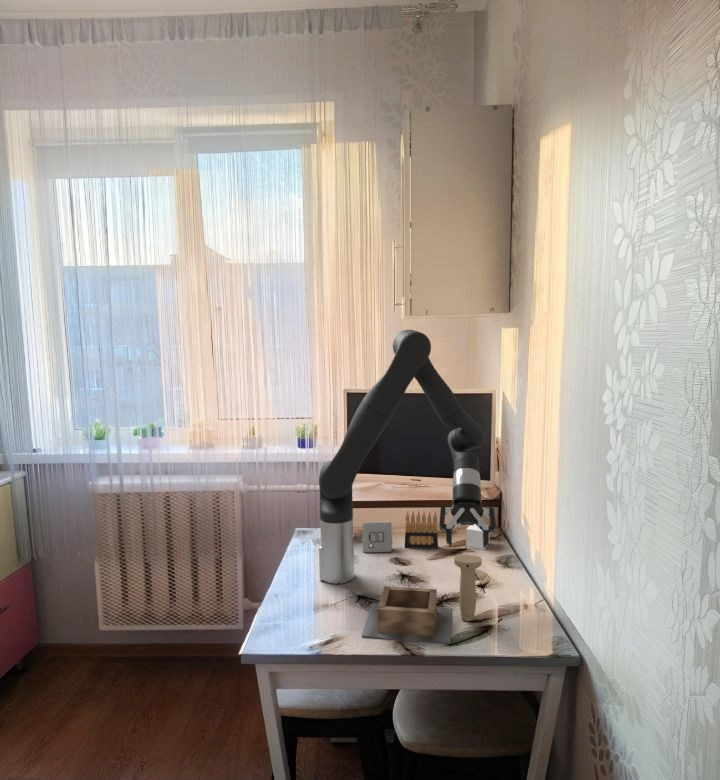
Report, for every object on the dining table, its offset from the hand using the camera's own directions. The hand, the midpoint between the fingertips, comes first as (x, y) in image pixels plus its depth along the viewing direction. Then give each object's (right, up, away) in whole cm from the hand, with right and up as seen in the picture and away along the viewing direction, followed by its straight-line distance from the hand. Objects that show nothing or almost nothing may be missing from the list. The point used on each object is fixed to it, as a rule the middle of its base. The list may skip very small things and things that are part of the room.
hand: (467, 545), depth 147 cm
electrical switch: (-22, -12, +39) cm, 46 cm away
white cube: (+11, -11, +41) cm, 44 cm away
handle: (-1, -16, -6) cm, 17 cm away
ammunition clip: (-7, -11, +40) cm, 43 cm away
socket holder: (-16, -16, -8) cm, 24 cm away
